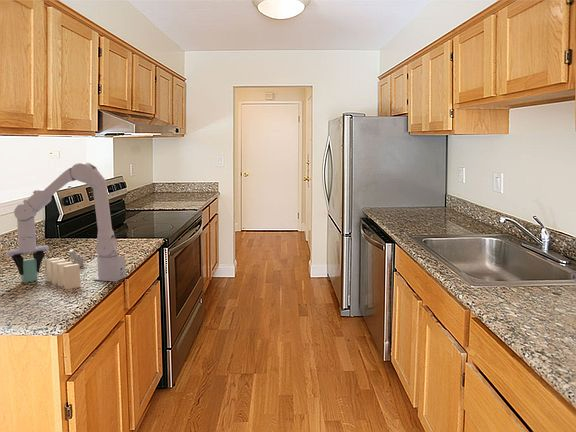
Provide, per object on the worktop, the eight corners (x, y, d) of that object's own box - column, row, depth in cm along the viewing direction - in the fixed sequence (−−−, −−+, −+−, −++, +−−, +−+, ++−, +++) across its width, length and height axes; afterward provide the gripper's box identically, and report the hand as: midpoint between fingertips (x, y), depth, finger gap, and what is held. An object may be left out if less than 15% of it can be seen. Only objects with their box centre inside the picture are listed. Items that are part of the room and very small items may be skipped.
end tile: (37, 280, 198) (36, 258, 197) (23, 282, 194) (22, 261, 193) (35, 279, 199) (34, 258, 198) (21, 281, 195) (20, 260, 194)
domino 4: (80, 286, 189) (79, 264, 188) (66, 289, 186) (65, 266, 184) (78, 285, 190) (77, 263, 189) (64, 288, 187) (63, 266, 185)
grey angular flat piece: (79, 265, 221) (78, 246, 220) (83, 265, 221) (82, 246, 220) (69, 269, 214) (68, 250, 213) (73, 269, 214) (72, 250, 213)
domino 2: (67, 281, 196) (66, 260, 195) (53, 284, 192) (52, 262, 191) (65, 280, 197) (64, 259, 196) (51, 283, 193) (50, 261, 192)
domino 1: (61, 279, 199) (59, 258, 198) (47, 281, 196) (46, 260, 194) (59, 278, 200) (58, 257, 199) (45, 280, 197) (44, 259, 195)
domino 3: (73, 283, 193) (72, 262, 191) (59, 286, 189) (58, 264, 188) (71, 283, 194) (70, 261, 192) (57, 285, 190) (56, 263, 189)
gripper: (42, 232, 202) (44, 268, 204) (1, 237, 192) (4, 274, 193) (50, 235, 197) (52, 271, 199) (9, 240, 187) (11, 278, 189)
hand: (29, 273), depth 196 cm, fingers closed on end tile, 5 cm apart
